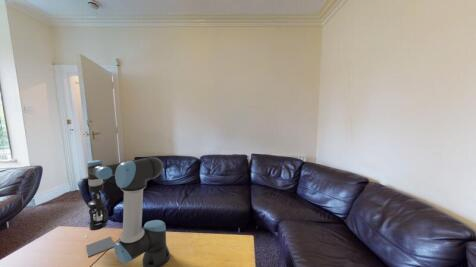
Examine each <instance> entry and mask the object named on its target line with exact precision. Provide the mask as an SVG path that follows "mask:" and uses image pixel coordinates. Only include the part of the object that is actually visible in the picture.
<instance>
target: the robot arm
mask: <svg viewBox="0 0 476 267" xmlns="http://www.w3.org/2000/svg"><path fill="white" fill-rule="evenodd" d="M86 165H87V178H88V180H87V181H88V182H87V183H88V192H89V193H95V195H94V194H93V195H92V196H93V197H92V198H93V199H92V200H94V201H95V202H96V209H94V210H93V211H94V212H96V214H94V216H95V215H96V216H97V221H100V220H102V206H103V205H102V206H101V199H102V192H101V191H103V190H104V180H107V179H110V178H111V177H114V180H115V183H116V184H115V185H116V186H117V188H120V190H121V191H122V192H123V219H122V232H121V233H120V234H119V241H116V242H115V243H114V247H113V249H114V253H115V255H116V257H117V259H118V260H119V262H120V263H121V264H123V265H124V264H128V263H129V262H132V261H133V260H135V259H136V258H138V257H139V256H141V255H143V256H142V267H163V266H164V265H165V264H166V263H168V262H169V260H170V257H171V253H170V250H169V248H168V245H167V232H166V231H167V228H166V227H167V226H166V223H165V222H164V221H163V220H160V219H154V220H150V221H146V222H145V223H144V226H143V224H142V223H143V204H144V203H143V200H144V199H143V198H144V189H146V188H147V185H148V184H147V182H148V181H150V180H153V179H156V178H157V177H159V176H160V175H161V174H162V172H163V170H164V164H163V162H162V160H161V159H160V158H158V157H153V156H151V157H145V158H140V159H135V160H126V161H121V162H115V163H110V164H106V165H103V163H102V160H99V159H98V160H97V159H96V160H90V161H88V162H87V164H86ZM99 192H100V193H99ZM142 226H143V228H142Z"/></svg>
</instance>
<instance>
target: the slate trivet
mask: <svg viewBox="0 0 476 267" xmlns="http://www.w3.org/2000/svg"><path fill="white" fill-rule="evenodd" d="M114 244H115V243H114V240H113V238H112V236H108V237H106V238H103V239H100V240H97V241H94V242H92V243H89V244H86V245H85V247H86V253H87V258H91V257H93V256H95V255H97V254H100V253H104V252H106V251H108V250H111V249H112V248H113V249H114Z"/></svg>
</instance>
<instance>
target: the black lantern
mask: <svg viewBox="0 0 476 267" xmlns="http://www.w3.org/2000/svg"><path fill="white" fill-rule="evenodd" d="M91 193H92V194H91V195H92V196H93V194H94V195H95V193H93V192H91ZM99 193H101V191H99ZM105 202H106V199H105V198H101V206H102V220H100V221H97V216H96V215H95V214H96V212H95V210H94V209H96V202H95V201H94V199H92V200H91V201H89V202H88V203H87V205H88V207H89V208H90V209H88V214H89V221H90V222H89V225H88V226H89V228H88V229H89V231H92V232H93V231H99V230H101V229H104V228H105V227H107V225H108V223H109V215H108V214H109V213H108V208H107V207H106V206H105ZM93 211H94V212H93Z"/></svg>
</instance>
